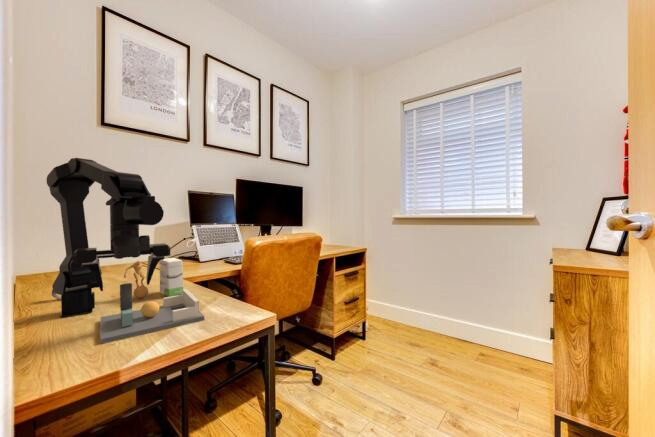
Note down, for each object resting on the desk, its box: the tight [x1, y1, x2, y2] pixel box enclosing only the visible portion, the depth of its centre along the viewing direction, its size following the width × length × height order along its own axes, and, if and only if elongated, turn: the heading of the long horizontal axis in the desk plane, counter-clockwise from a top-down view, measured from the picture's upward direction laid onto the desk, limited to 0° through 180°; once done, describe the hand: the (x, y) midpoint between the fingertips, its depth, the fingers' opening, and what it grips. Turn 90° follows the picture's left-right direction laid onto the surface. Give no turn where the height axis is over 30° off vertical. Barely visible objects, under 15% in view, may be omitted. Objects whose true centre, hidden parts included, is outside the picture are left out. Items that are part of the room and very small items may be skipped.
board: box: [100, 304, 205, 344], centre depth 72 cm, size 21×16×1 cm
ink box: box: [159, 257, 184, 297], centre depth 96 cm, size 9×5×12 cm, turn 48°
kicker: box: [119, 282, 134, 327], centre depth 69 cm, size 2×8×9 cm, turn 39°
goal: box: [162, 288, 200, 322], centre depth 77 cm, size 6×14×4 cm, turn 39°
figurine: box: [123, 260, 149, 299], centre depth 91 cm, size 8×6×12 cm
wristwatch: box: [51, 289, 61, 301], centre depth 90 cm, size 6×3×5 cm, turn 101°
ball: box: [140, 300, 160, 318], centre depth 72 cm, size 4×4×4 cm
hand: (125, 287), depth 69 cm, fingers open, 9 cm apart
